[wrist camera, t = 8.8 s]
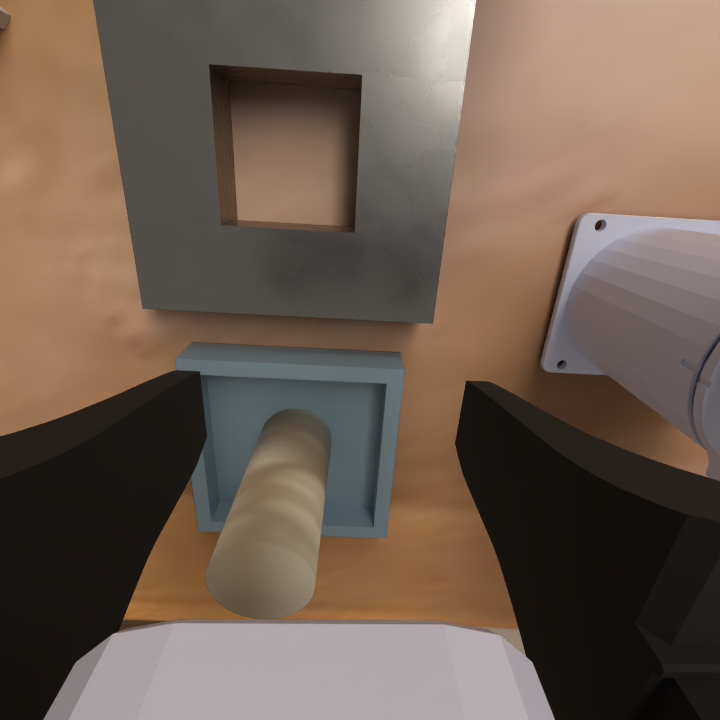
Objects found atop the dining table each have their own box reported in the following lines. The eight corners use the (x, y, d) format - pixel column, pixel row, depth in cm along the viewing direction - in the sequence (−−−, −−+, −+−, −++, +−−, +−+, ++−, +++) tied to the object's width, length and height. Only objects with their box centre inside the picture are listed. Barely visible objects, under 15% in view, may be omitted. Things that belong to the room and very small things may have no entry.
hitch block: (464, -19, 16) (483, -54, 13) (424, 308, 21) (432, 323, 18) (120, -46, 15) (79, -87, 13) (166, 294, 20) (142, 308, 18)
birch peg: (332, 410, 22) (315, 546, 14) (331, 468, 24) (315, 620, 16) (259, 407, 22) (199, 541, 14) (263, 465, 24) (211, 617, 16)
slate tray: (400, 352, 22) (404, 369, 20) (383, 510, 26) (386, 538, 24) (192, 342, 21) (175, 358, 19) (210, 504, 26) (198, 531, 24)
